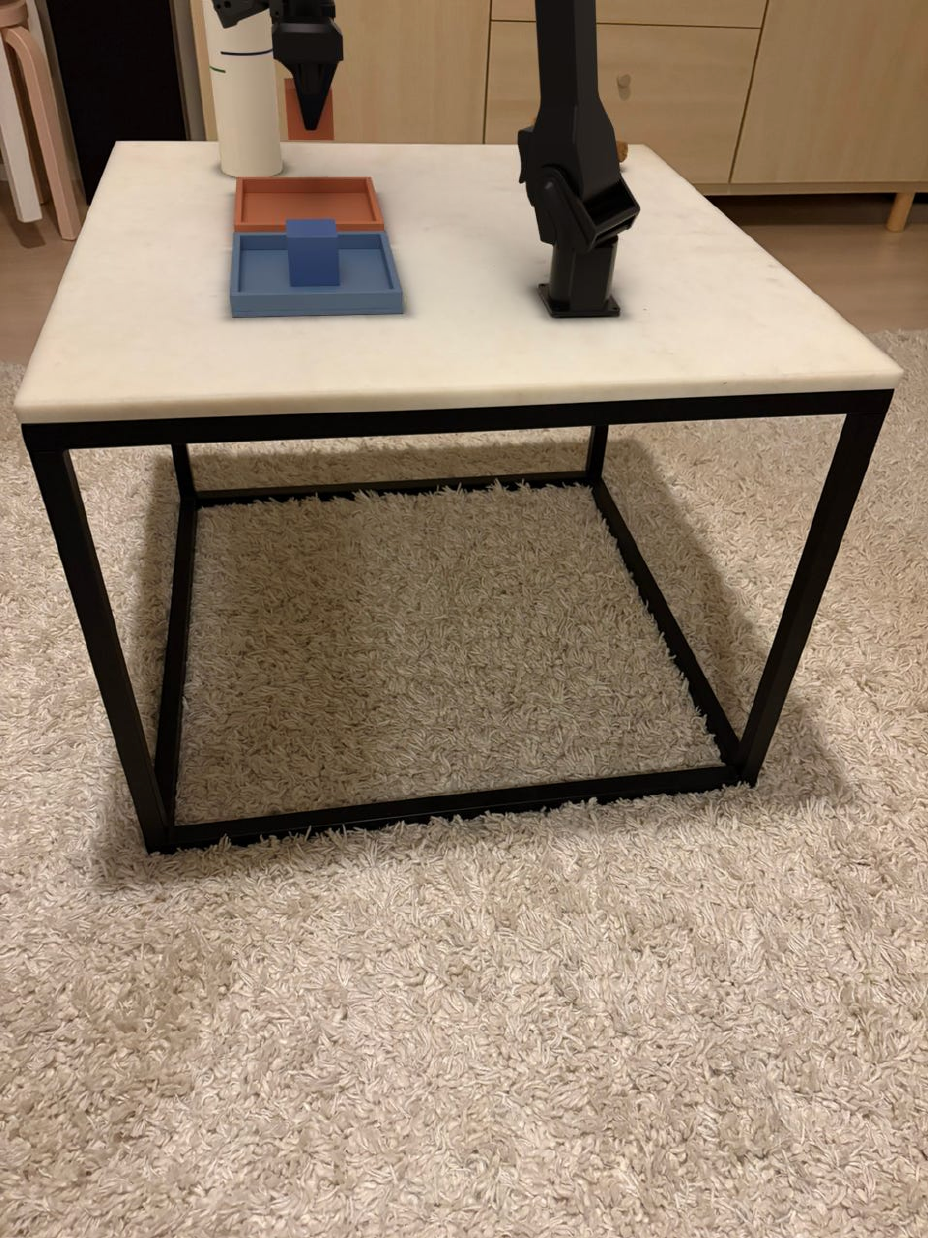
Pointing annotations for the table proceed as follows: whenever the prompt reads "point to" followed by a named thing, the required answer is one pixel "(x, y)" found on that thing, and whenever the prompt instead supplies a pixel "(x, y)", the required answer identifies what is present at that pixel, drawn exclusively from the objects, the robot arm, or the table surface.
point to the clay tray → (306, 203)
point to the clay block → (296, 121)
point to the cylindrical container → (244, 94)
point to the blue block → (313, 252)
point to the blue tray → (268, 290)
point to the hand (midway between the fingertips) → (309, 122)
